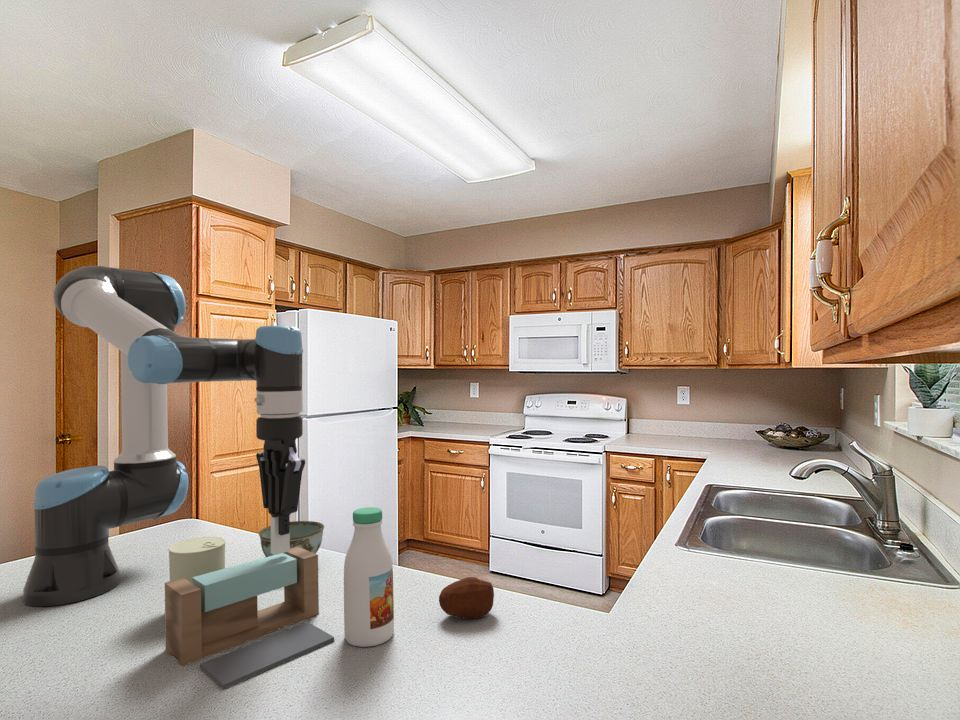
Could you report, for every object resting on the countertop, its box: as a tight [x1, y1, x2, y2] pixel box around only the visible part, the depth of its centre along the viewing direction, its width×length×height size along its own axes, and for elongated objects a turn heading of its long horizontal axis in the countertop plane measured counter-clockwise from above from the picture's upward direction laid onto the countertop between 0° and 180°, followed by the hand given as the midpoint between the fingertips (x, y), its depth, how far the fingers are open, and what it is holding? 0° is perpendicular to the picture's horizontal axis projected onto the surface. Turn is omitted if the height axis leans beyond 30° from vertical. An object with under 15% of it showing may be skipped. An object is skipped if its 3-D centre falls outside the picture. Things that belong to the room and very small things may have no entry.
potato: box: [438, 576, 495, 620], centre depth 93 cm, size 7×9×6 cm
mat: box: [199, 621, 335, 690], centre depth 82 cm, size 8×17×1 cm, turn 137°
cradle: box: [164, 546, 320, 667], centre depth 90 cm, size 7×22×10 cm, turn 137°
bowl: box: [258, 520, 325, 557], centre depth 119 cm, size 14×13×8 cm
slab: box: [192, 553, 297, 612], centre depth 90 cm, size 5×15×4 cm, turn 137°
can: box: [168, 536, 226, 583], centre depth 98 cm, size 9×9×12 cm
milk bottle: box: [343, 506, 395, 648], centre depth 87 cm, size 8×8×20 cm
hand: (280, 551), depth 95 cm, fingers closed
